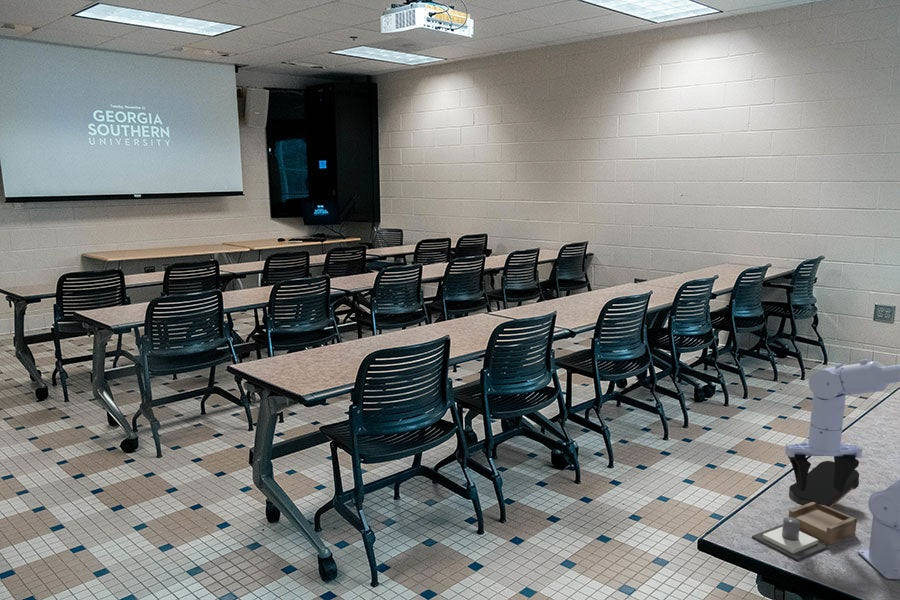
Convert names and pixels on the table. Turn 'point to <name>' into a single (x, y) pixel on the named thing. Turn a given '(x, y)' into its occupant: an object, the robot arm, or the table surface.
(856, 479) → the black sponge
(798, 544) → the cover plate
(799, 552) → the rubber mat
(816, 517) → the walnut case
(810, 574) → the table surface
